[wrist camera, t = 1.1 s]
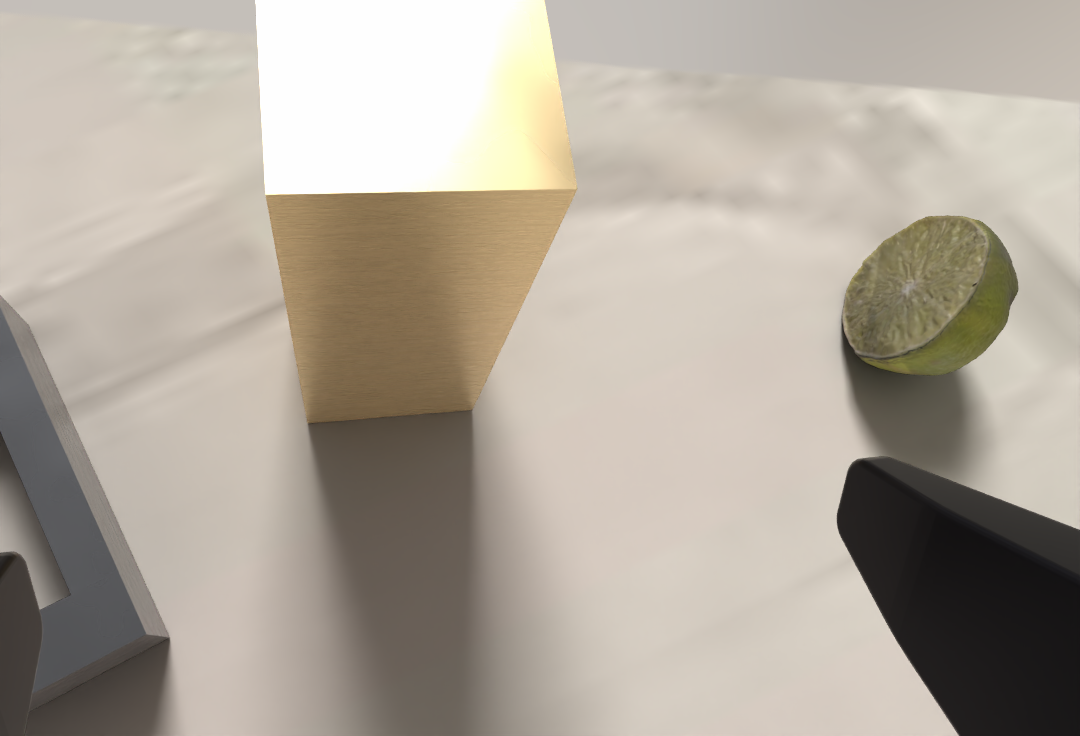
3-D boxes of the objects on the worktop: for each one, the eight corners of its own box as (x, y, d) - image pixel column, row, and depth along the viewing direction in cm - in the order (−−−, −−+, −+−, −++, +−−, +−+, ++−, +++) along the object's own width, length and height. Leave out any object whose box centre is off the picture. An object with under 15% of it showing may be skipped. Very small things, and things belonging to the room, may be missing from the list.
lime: (851, 407, 26) (957, 352, 22) (798, 269, 28) (887, 190, 23) (965, 380, 28) (1088, 323, 23) (909, 249, 29) (1015, 170, 24)
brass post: (472, 409, 24) (577, 188, 13) (307, 423, 23) (265, 194, 12) (454, 265, 25) (535, -49, 14) (298, 271, 24) (252, -63, 13)
